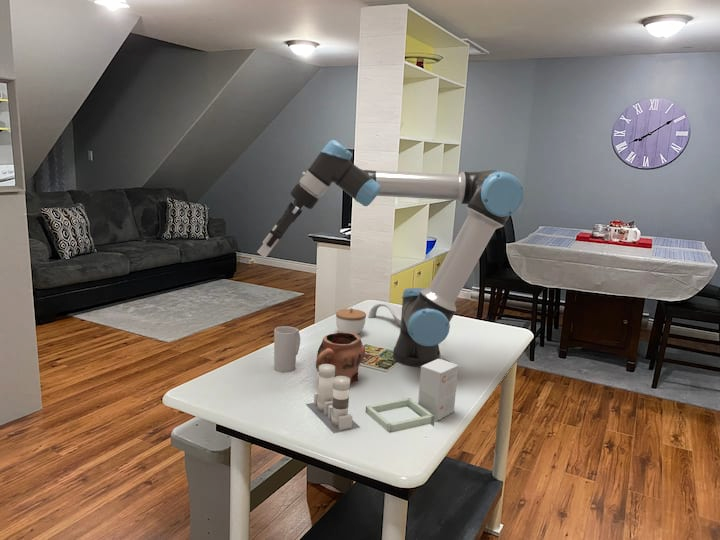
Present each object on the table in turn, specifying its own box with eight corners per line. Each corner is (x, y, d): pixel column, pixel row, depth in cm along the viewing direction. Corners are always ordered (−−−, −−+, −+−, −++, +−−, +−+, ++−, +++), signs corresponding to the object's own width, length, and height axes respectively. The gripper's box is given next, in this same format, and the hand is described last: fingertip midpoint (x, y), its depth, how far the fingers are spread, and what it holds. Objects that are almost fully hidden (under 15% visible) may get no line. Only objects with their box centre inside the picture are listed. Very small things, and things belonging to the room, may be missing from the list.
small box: (434, 403, 151) (438, 357, 148) (454, 412, 147) (459, 364, 144) (416, 413, 145) (420, 365, 142) (437, 422, 141) (441, 372, 138)
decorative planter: (338, 402, 148) (340, 352, 145) (299, 391, 154) (301, 342, 151) (372, 377, 166) (375, 332, 163) (336, 368, 171) (338, 324, 168)
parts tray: (408, 408, 147) (409, 397, 147) (433, 427, 138) (434, 416, 137) (365, 417, 141) (365, 406, 140) (388, 437, 132) (389, 426, 131)
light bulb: (343, 417, 137) (345, 374, 135) (350, 424, 134) (353, 381, 131) (328, 420, 135) (330, 377, 133) (335, 427, 132) (337, 383, 129)
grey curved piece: (430, 327, 217) (432, 309, 216) (415, 334, 208) (417, 315, 206) (378, 314, 230) (379, 297, 229) (362, 320, 220) (363, 302, 219)
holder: (330, 404, 147) (332, 359, 144) (360, 433, 133) (363, 383, 130) (305, 409, 143) (307, 363, 141) (333, 439, 130) (335, 388, 127)
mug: (285, 374, 164) (287, 335, 162) (268, 368, 168) (269, 330, 165) (307, 364, 173) (309, 327, 170) (290, 359, 176) (291, 322, 174)
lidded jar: (330, 330, 206) (331, 305, 204) (357, 327, 210) (358, 303, 208) (342, 339, 196) (343, 314, 194) (369, 337, 201) (371, 311, 199)
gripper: (299, 178, 169) (257, 233, 172) (295, 186, 145) (247, 251, 148) (319, 193, 170) (277, 248, 174) (319, 204, 146) (270, 267, 149)
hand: (263, 249), depth 161 cm, fingers open, 13 cm apart
